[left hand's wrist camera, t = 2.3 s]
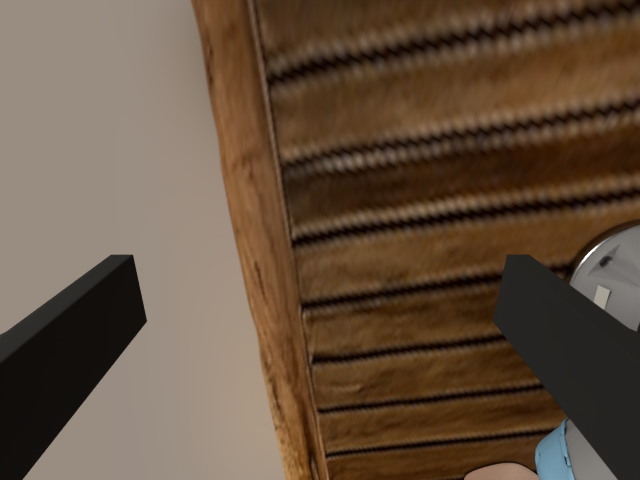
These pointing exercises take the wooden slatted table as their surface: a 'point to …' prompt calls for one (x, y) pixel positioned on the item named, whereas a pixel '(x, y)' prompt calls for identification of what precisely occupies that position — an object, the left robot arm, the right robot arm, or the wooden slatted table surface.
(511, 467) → the anatomical model
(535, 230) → the wooden slatted table surface
